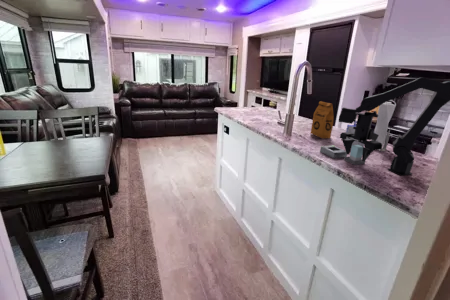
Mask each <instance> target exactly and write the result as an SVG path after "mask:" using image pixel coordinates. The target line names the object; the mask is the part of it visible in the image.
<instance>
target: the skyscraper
mask: <svg viewBox="0 0 450 300" xmlns="http://www.w3.org/2000/svg"><path fill="white" fill-rule="evenodd" d="M392 102H393V103H394V104H393V103H392ZM396 106H397V103H396V101H394V99H392V100H389V101H387V102H385V103H383V104H382V105H380V106H378V109H377V110H378V111H377V114H378V117H376V124H375V127H374V130H373V133H375V134H377V135H379V136H378V138H377V140H376V141H377V142H380V143H382V148H381V149H378V150H379V152H382V151H383V152H385V151H386V150H387V146H388V142H389V139H390V133H391V128H389V122H390V121H391V119H392V117H393V115H394V111H395V109H396ZM388 128H389V130H388ZM370 141H373V140H370ZM378 150H377V151H378Z"/></svg>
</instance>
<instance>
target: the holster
mask: <svg viewBox="0 0 450 300" xmlns="http://www.w3.org/2000/svg"><path fill="white" fill-rule="evenodd" d="M349 157H350V156H347V157H344V158H343V159H344V161H345V162H348V163H349V162H350V163H349V164H351V165H354V166H359V165H365V164H366V160H365V161H362V158H361V161H353V160H351V159H349Z"/></svg>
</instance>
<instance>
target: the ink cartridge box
mask: <svg viewBox="0 0 450 300" xmlns="http://www.w3.org/2000/svg"><path fill="white" fill-rule="evenodd" d="M356 124H357V120H356V121H355V122H353V124H347V126H346V131H345V132H351V133H354V132H355V129H353V127H355V126H356ZM352 145H360V146H363V147H365V146H364V144H363V143H360V142H357V141H354V142H353V143H352ZM343 146H344V144H343ZM351 148H352V146H351Z"/></svg>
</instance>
